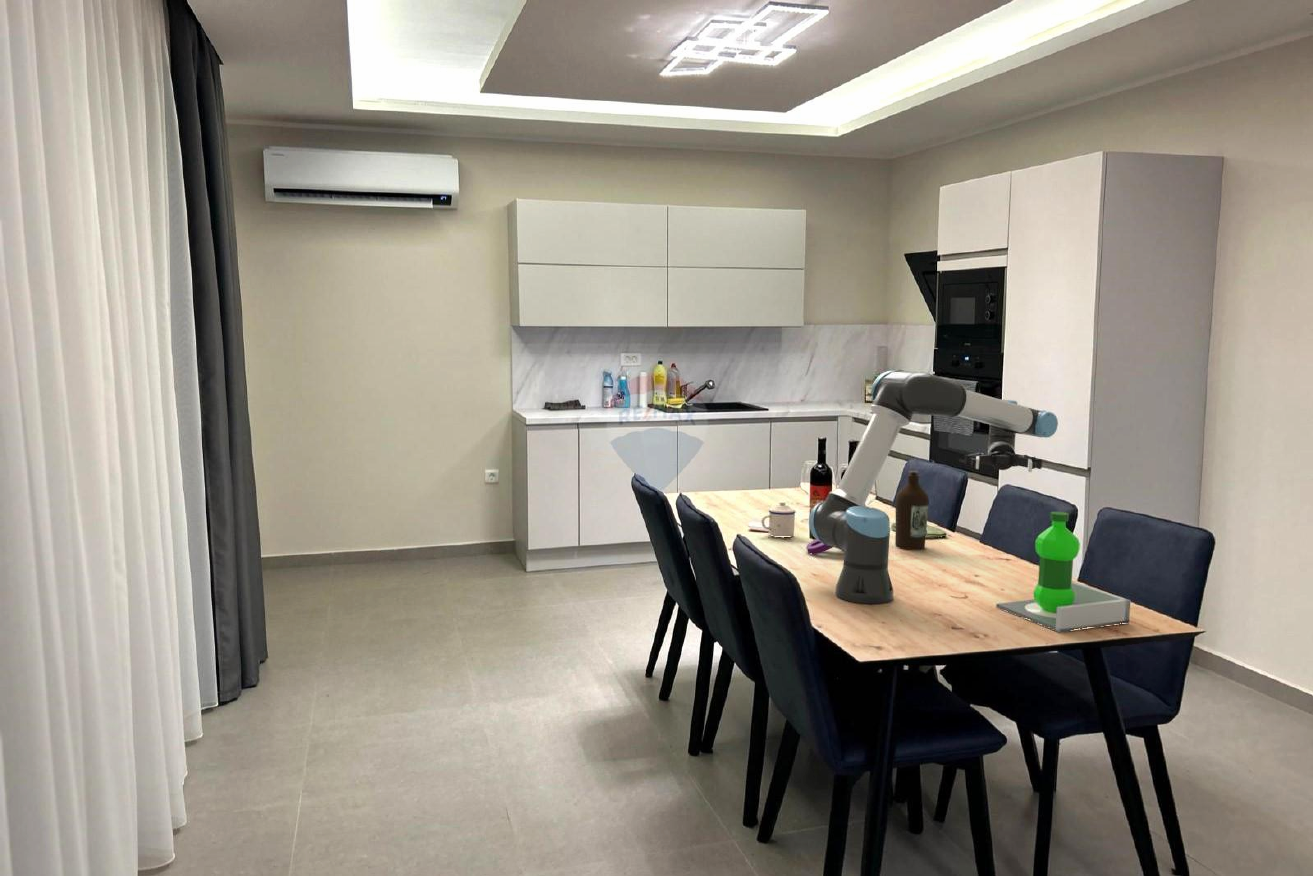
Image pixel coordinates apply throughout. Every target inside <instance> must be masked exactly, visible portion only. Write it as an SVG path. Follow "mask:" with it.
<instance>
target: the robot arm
mask: <svg viewBox="0 0 1313 876" xmlns="http://www.w3.org/2000/svg"><path fill="white" fill-rule="evenodd" d="M870 394H871V401H872V403H871V405H870V410H871V413H872V416H871V418H870V420H869V422H868V424H867V426H866V428H865V430H864V433H863V434H862V437H861V439H860V440H859V442H858V445H857V447H856V449H855V451H854V452H853V455H852V456H851V459H850V461H849V463H848V466H846V467H847V468H846V470H845V472H844V474H843V476H842V478H841V480H840V483H839V484H838V485H837V488H836V489H835V490H832V491H829V493H828V495H827V497H826V498H825V501H820V502H819V503H817V504H816V505H815V506H814V507H813V508H812V509H811V511H810V514H809V517H808V525H809V529H810V533H811V535H812V536H813V537H814V538H815V539H817V540H818V541H820V542H822V543H823V544H825V545H827V546H832V547H833V548H835V549H838V550H840V551H843V566H842V569H841V572H840V575H839V577H838V580H837V583H836V585H835V596H837V597H838V598H839V599H841V600H844V601H846V602H852V603H858V604H868V605H869V604H877V605H878V604H885V603H888V602H891V601H892V600H893V599H894V587H893V584H892V581H891V576H890V574H889V554H890V553H889V551H890V550H889V549H890V537H891V535H890V533H891V525H890V517H889V515H888V514H887V513H886V512H885V511H883V510H881V509H878V508H875V507H869V506H867V505H866V502H867V500H868V498H869V496H870V493H871V492H872V488H873V487H874V485H875V482H876V480H877V478H878V477H879V475H880V472H881V470H882V468H883V466H884V464H885V462H886V461H887V458H888V456H889V454H890V451H891V450H892V447H893V445H894V443H895V441H896V439H897V437H898V435H899V432H900V431H901V429H902V427H905V426H908V425H909V424H911V421H912V418H913V416H914V415H920V416H921V415H923V416H924V415H925V416H927V415H928V416H940V417H945V418H949V419H950V418H951V419H953V418H956V417H959V418H964V419H968V420H971V421H975V422H980V423H982V424H987V425H989V432H988V443H987V444H988V445H987V450H986V451H987V454H984V453H983V452H981V451H978V452H977V453H970V454H965V455H964V456H965V457H964V465H967V466H968V465H971V468H975V470H979V468H980V466H981V465H988V466H991V467H993V468H994V469H995V470H998V471H1006V470H1009V469H1010V468H1012V467H1024V468H1026V469H1027V471H1028V473H1032V472H1033V470H1034V469H1038V470H1041V469H1043V459H1040V458H1037V457H1036V456H1029V455H1028V454H1023V455H1022V456H1019V454H1017V453H1016V451H1015V446H1016V434H1019V435H1023V436H1024V435H1025V436H1031V437H1037V438H1047V439H1048V438H1051V437H1052V436H1053V435H1055V433H1056V431H1057V429H1058V426H1059V422H1058V421H1059V420H1058V417H1057V416H1056V414H1055V413H1053V412H1051V411H1046V410H1039V409H1036V408H1033V407H1032V408H1031V407H1027V406H1024V405H1021V404H1018V402H1017V400H1014V399H1013V400H1012V399H1000V398H996V397H992V396H989V395H986V394H983V393H979V392H976V391H972V390H968V389H966V388H965V386H964V385H963V384H961V383H957V382H954V381H951V380H948V379H945V378H943V377H940V376H938V375H935V374H933V373H928V372H921V371H920V372H918V371H908V370H902V369H896V370H895V369H894V370H888V371H884V372H883V373H881V374H879V375H878V376H877V378H875V380H874V382H873V383H872V386H871V388H870Z"/></svg>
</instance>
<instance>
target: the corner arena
mask: <svg viewBox="0 0 1313 876" xmlns="http://www.w3.org/2000/svg"><path fill="white" fill-rule="evenodd" d="M1071 586H1072V588H1073V591H1074V594H1075V598H1074V601H1073V603H1072V605H1069V606H1061V607H1057V613H1052V612H1047V611H1044V610H1043V609H1042V608H1041V607H1040V606H1039V605H1038V604H1037V603H1036V602H1035V600H1034V599H1025V600H1018V601H1017V600H1016V601H1008V602H999V603H996V604H995V607H998V608H997V609H999V608H1000V609H999V610H1001V609H1004V610H1006V611H1008V612H1007V613H1009V612H1010V613H1009V614H1011V613H1013V614H1012V615H1014V614H1016V615H1019V616H1021V617H1023V618H1022V619H1024V618H1027V619H1030V620H1031V621H1033V622H1032V623H1034V622H1035V623H1034V624H1036V623H1039V624H1042V625H1043V626H1042V627H1044V626H1045V628H1046V627H1050V628H1052V629H1054V630H1056V631H1058V632H1057V633H1059V632H1065V633H1068V632H1067V631H1071V630H1074V629H1079V628H1080V629H1082V628H1087V627H1101V626H1106V625H1114V624H1120V623H1121V624H1122V623H1129V624H1130V615H1131V614H1130V613H1131V612H1130V611H1131V601H1132V600H1130V599H1128V598H1124V597H1122V596H1119V595H1116V594H1114V593H1113V594H1112V593H1110V592H1107V591H1103V590H1101V589H1098V588H1096V587H1095V588H1094V587H1091V586H1088V585H1085V584H1082V583H1079V582H1076V581H1073V580H1072V583H1071ZM1004 610H1003V611H1004ZM1006 611H1005V612H1006ZM1016 615H1015V616H1016ZM1019 616H1018V617H1019ZM1021 617H1020V618H1021ZM1031 621H1030V622H1031ZM1039 624H1038V625H1039ZM1054 630H1053V631H1054ZM1056 631H1055V632H1056Z"/></svg>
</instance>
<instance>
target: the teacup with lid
mask: <svg viewBox="0 0 1313 876" xmlns="http://www.w3.org/2000/svg"><path fill="white" fill-rule="evenodd" d="M768 512H769V514H767V515H764V516H762V518H761V521H760V523H761V526H762V528H763V529H765V530H766V531H767V530H768V534H769V533H770V534H771V535H773V536H793V535H794V536H795V519H796V518H795V516H796V509H794V508H793V507H790V506H789V505H787V504H786V502H785V501H779V503H778V504H777V505H776V504H775V506H773V507H770V508H769V510H768ZM766 519H768V527H767V526H766V525H765V524H766V523H765V520H766ZM794 536H793V537H794Z"/></svg>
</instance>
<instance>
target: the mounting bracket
mask: <svg viewBox="0 0 1313 876" xmlns="http://www.w3.org/2000/svg"><path fill="white" fill-rule="evenodd" d="M805 548H806V550H807V553H808V552H809V553H812V554H814V555H817V554H818V555H819V554H821V553H825V552H826V551H829V550H830V549H833V548H834V547H832V546H827V545H825V544H823V543H822V542H820V541H818V540H817V539H816V538H815V539H814V540H811V541H810V542H808V544H807V545H806V547H805ZM809 553H808V554H809Z"/></svg>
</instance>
